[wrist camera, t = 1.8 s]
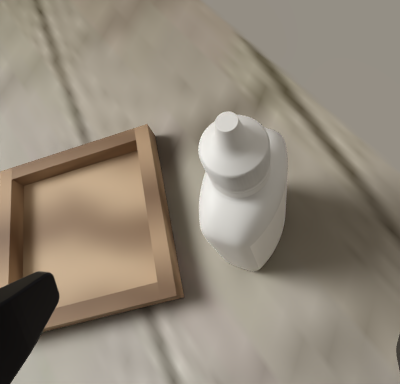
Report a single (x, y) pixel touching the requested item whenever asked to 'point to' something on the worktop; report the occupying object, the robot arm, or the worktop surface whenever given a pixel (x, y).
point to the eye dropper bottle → (243, 189)
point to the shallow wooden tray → (92, 227)
